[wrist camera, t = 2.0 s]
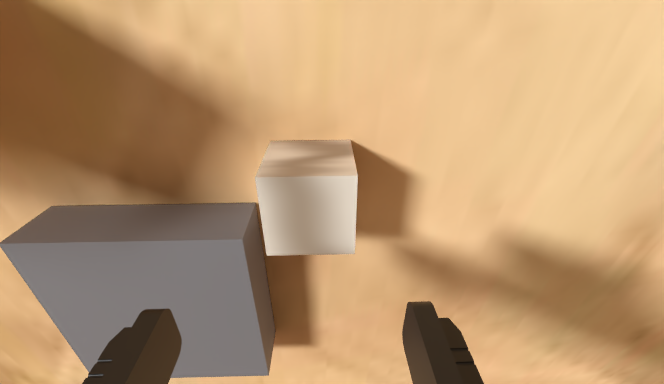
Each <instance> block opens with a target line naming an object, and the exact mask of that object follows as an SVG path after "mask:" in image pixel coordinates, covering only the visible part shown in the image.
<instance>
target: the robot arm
mask: <svg viewBox="0 0 664 384" xmlns="http://www.w3.org/2000/svg"><path fill="white" fill-rule="evenodd" d="M402 335H403V345H404V350H405V354H406V358H407V362H408V366H409V370H410V374H411V378H412V381H413V384H484V383H483V381H482V378H481V376H480V374H479V372H478V369H477V367H476V365H474V360H473V358H472V356H471V354H470V351H468V347H467V345H466V342H465V340H464V338H463V336H462V333H461V331H460V330H459V329H458V328H457V327H456V326H455V325H454V324H453V322H452V321H451V320H450V319H449V318H438V316H437V314H436V311H435V309H434V306H433V304H432V303H431V302H430V301H428V302H408V304H407V308H406V314H405V319H404V325H403V332H402ZM181 345H182V339H181V335H180V332H179V329H178V327H177V324H176V322H175V319H174V317H173V314H172V312H171V310H170V309H145V310H143V311H142V312H141V313H140V314H139V316H138V317H137V319H136V321H135V322H134V324H133V326H132V327H124V328H123V329H122V330H121V331H120V332H119V333H118V334H117V335H116V336H115V337H114V338H113V339H112V340H111V341H109V342H108V344H107V346H106V347H105V349H104V350H103V352H102V353H101V355H100V357H99V358H98V362H97V363H95V365H94V366H93V368H92V369H91V371H90V372H89V374H88V378H86V379H85V380H84V382H83V383H82V384H168V382H169V380H170V377H171V375H172V372H173V370H174V367H175V365H176V363H177V360H178V358H179V355H180V351H181Z"/></svg>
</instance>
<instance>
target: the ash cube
mask: <svg viewBox="0 0 664 384" xmlns="http://www.w3.org/2000/svg"><path fill="white" fill-rule="evenodd" d="M255 181H256V188H257V194H258V201H259V208H260V214H261V221H262V228H263V234H264V241H265V248H266V254H267V256H276V255H325V254H355V236H356V210H357V184H358V174H357V169H356V164H355V159H354V155H353V150H352V145H351V140H292V141H270V143H269V145H268V147H267V150H266V152H265V155H264V157H263V159H262V162H261V164H260V167H259V169H258V171H257V174H256V176H255Z"/></svg>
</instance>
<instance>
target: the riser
mask: <svg viewBox="0 0 664 384" xmlns="http://www.w3.org/2000/svg"><path fill="white" fill-rule="evenodd" d="M0 247H1V248H2V250H3V251H4V252H5V254H6V255H7V257H8V258H9V260H10V261H11V262H12V264H13V265H14V267H15V268H16V269H17V271H18V272H19V274H20V275H21V277H22V278H23V279H24V281H25V282H26V284H27V285H28V286H29V288H30V289H31V291H32V292H33V294H34V295H35V296H36V298H37V299H38V301H39V302H40V303H41V305H42V306H43V308H44V309H45V311H46V312H47V313H48V315H49V316H50V318H51V319H52V320H53V322H54V323H55V325H56V326H57V328H58V329H59V330H60V332H61V333H62V335H63V336H64V338H65V339H66V340H67V342H68V343H69V345H70V346H71V347H72V349H73V350H74V352H75V353H76V355H77V356H78V357H79V359H80V360H81V362H82V363H83V364H84V366H85V367H86V369H87V370H88V372H90V371H91V369H92V368H93V366H94V365H95V363H97V362H98V358H99V357H100V355H101V353H102V352H103V350H104V349H105V347H106V346H107V344H108V342H109V341H111V340H112V339H113V338H114V337H115V336H116V335H117V334H118V333H119V332H120V331H121V330H122V329H123V328H124V327H132V326H133V324H134V322H135V321H136V319H137V317H138V316H139V314H140V313H141V312H142V311H143V310H145V309H170V310H171V312H172V314H173V317H174V319H175V322H176V324H177V327H178V329H179V332H180V335H181V339H182V345H181V351H180V355H179V358H178V360H177V363H176V365H175V367H174V370H173V372H172V375H171V377H170V378H182V377H224V376H266V375H269V370H270V364H271V357H272V351H273V344H274V338H275V332H276V331H275V325H274V318H273V312H272V306H271V299H270V293H269V286H268V280H267V273H266V267H265V261H264V254H263V248H262V241H261V235H260V228H259V222H258V216H257V209H256V203H214V204H153V205H93V206H51V207H50V208H48V209H47V210H45V211H44V212H43V213H41V214H40V215H38V216H37V217H36V218H34V219H33V220H31V221H30V222H28V223H27V224H26V225H24V226H23V227H21V228H20V229H19V230H17V231H16V232H14V233H13V234H12V235H10V236H9V237H7V238H6V239H4V240H3V241H2V242H0Z"/></svg>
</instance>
